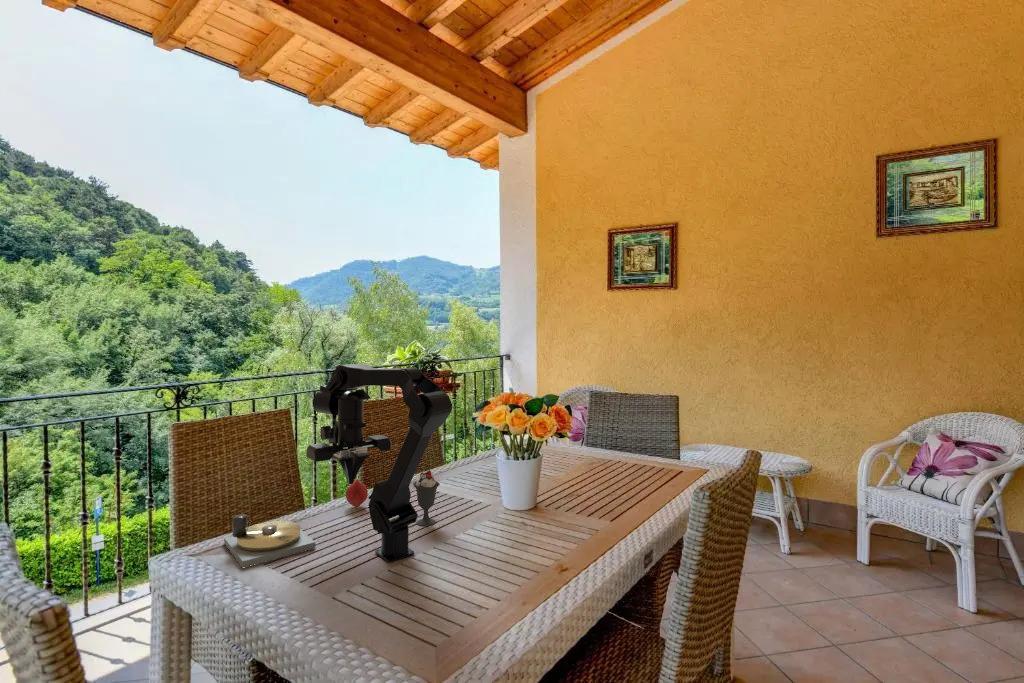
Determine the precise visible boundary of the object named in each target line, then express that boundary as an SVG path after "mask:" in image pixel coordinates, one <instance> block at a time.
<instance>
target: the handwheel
mask: <svg viewBox="0 0 1024 683" xmlns="http://www.w3.org/2000/svg"><path fill="white" fill-rule="evenodd" d="M248 518H249V517H248V514H245V513H242V514H237V515H236V514H235V515H234V516H232V520H231V521H232V524H231V525H232V536H233V537H237V546H238V547H239V548H241V549H243V550H248V551H268V550H274V549H278V548H282V547H285V546H288V545H290V544H292V543H294V542H295V541H297V540H298V539H299V538H300V529H301V526H300V525H299V524H298V523H296V522H294V521H288V520H274V521H266V522H262V523H261V522H260V523H257V524H253V525H251V526H248V524H249V523H248V521H249V520H248Z"/></svg>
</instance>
